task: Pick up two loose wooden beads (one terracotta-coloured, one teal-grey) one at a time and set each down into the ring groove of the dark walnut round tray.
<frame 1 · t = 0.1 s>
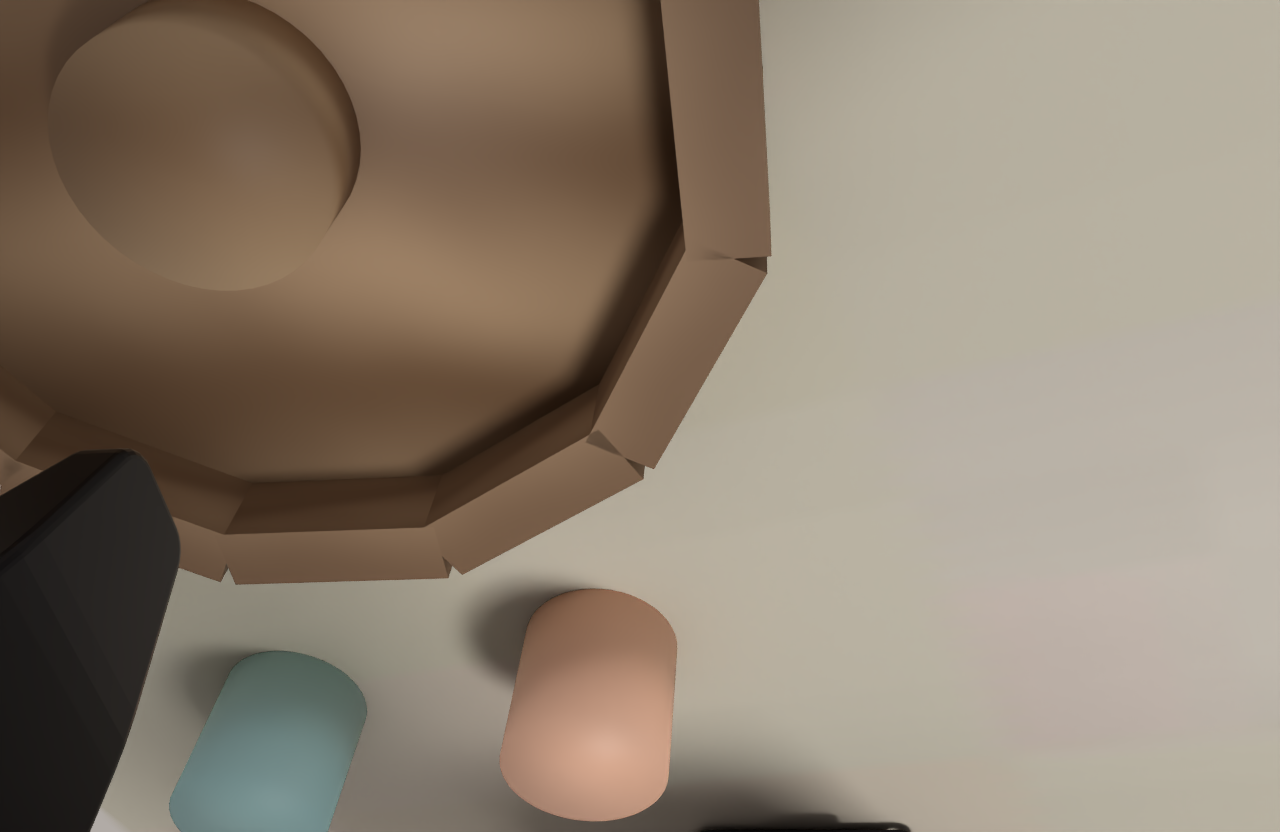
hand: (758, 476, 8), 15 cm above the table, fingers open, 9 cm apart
bead teal: (297, 699, 33), on the table
bead terracotta: (601, 643, 30), on the table
ring tray: (244, 111, 22), on the table
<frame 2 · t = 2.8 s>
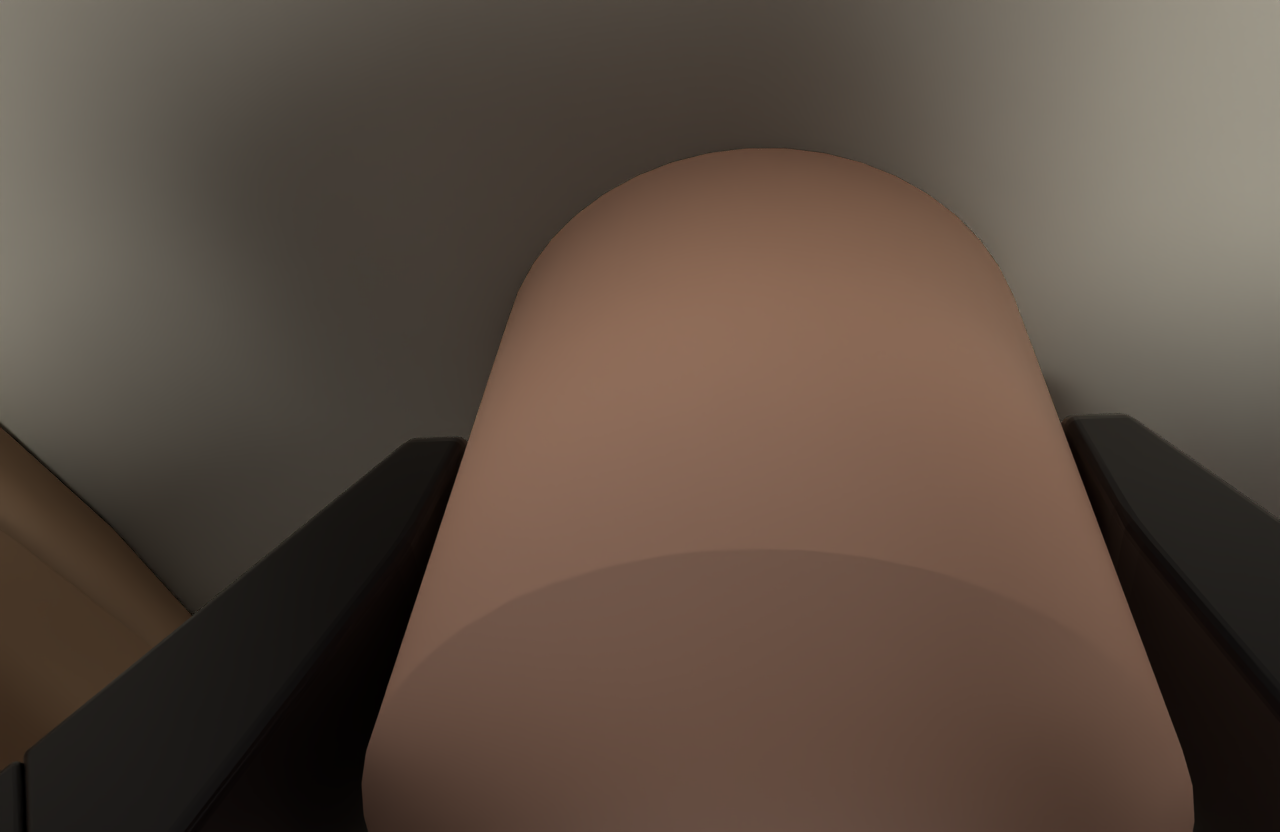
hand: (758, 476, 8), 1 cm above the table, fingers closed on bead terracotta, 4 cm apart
bead terracotta: (758, 392, 9), on the table, touching gripper
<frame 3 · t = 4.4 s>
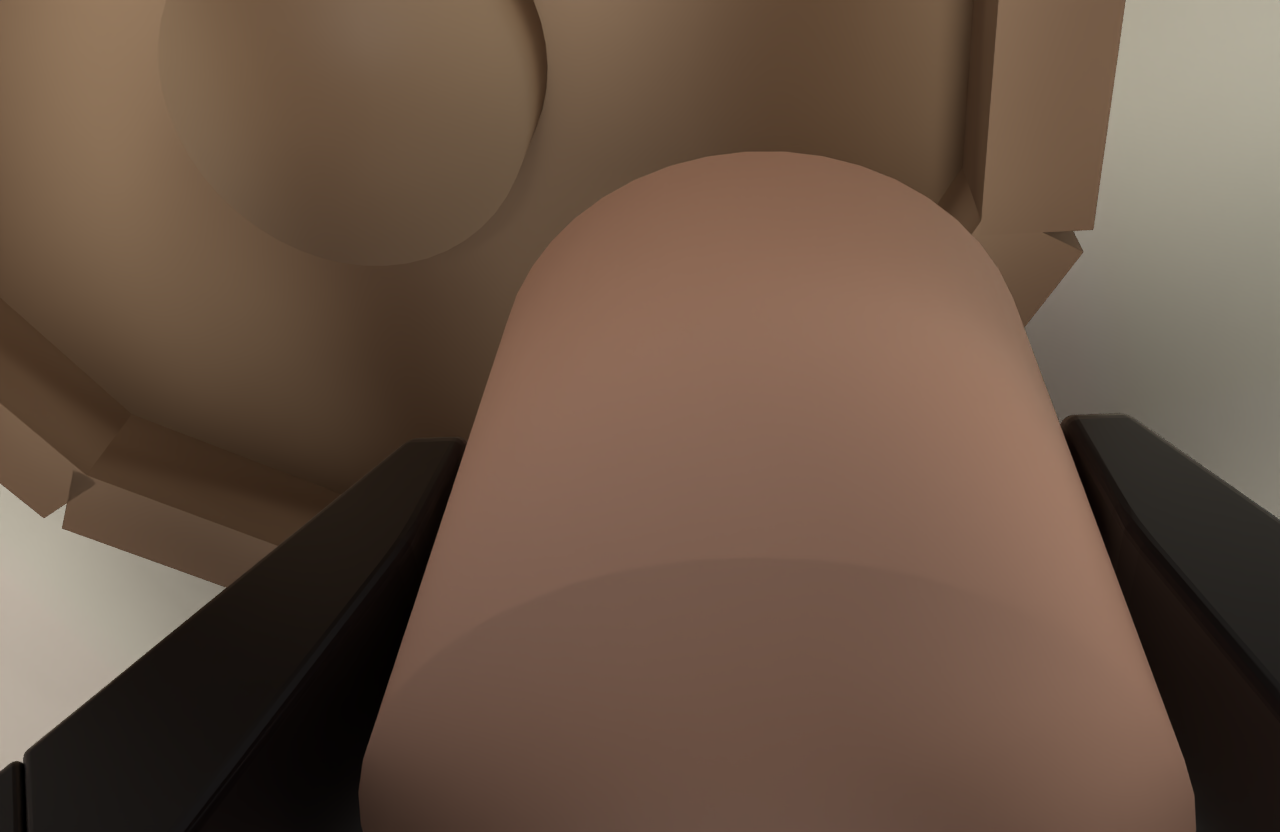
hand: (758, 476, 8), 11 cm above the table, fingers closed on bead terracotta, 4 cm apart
bead terracotta: (757, 396, 9), point 10 cm above the table, touching gripper
ring tray: (392, 39, 18), on the table
when the fingers open (3 cm above the table, at t = 6.0 s): bead terracotta drops 2 cm, resting on ring tray.
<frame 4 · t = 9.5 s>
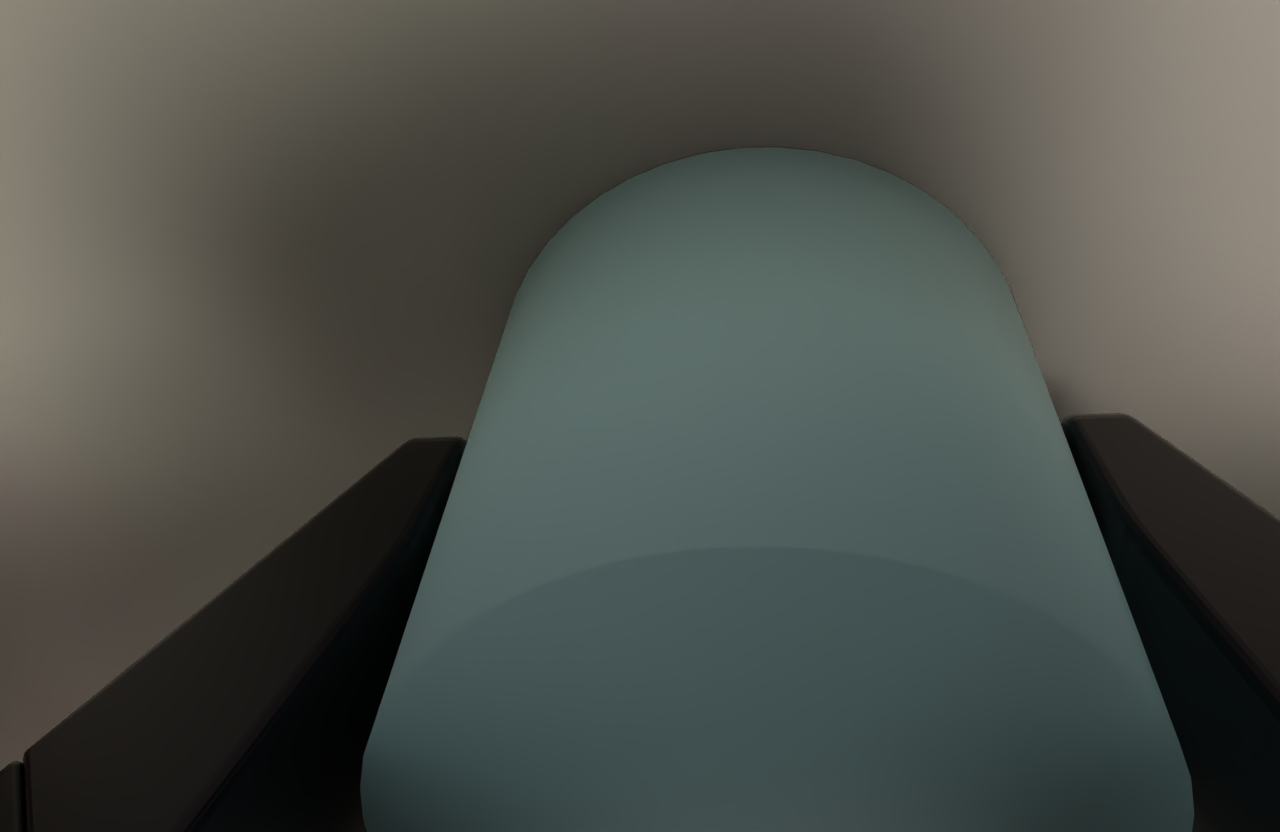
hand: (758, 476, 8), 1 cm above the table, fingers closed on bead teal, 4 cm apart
bead teal: (757, 392, 9), on the table, touching gripper
when the fingers open (3 cm above the table, at t = 13.2 s): bead teal drops 2 cm, resting on ring tray.
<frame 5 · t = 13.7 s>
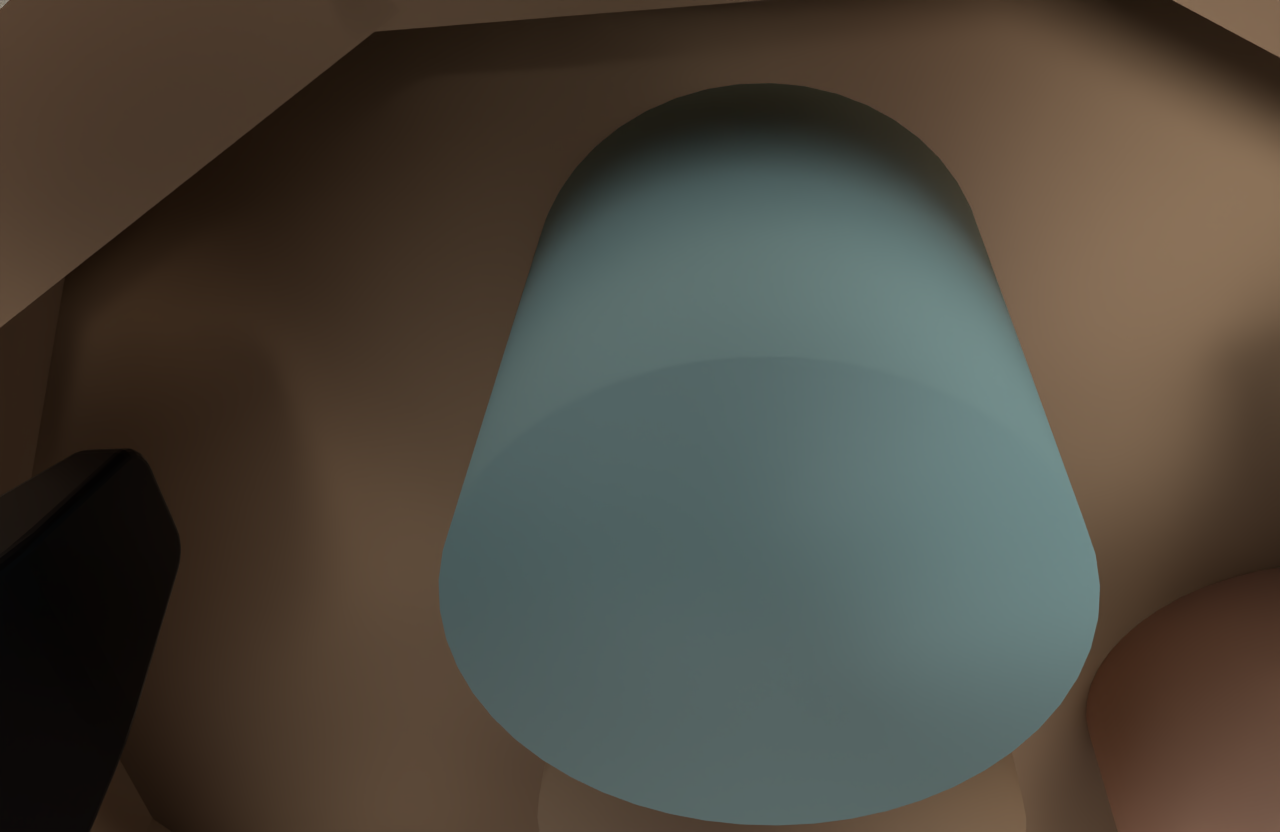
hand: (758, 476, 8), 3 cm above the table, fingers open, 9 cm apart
bead teal: (755, 301, 10), point 1 cm above the table, touching ring tray
bead terracotta: (1275, 697, 13), point 1 cm above the table, touching ring tray
ring tray: (772, 650, 14), on the table
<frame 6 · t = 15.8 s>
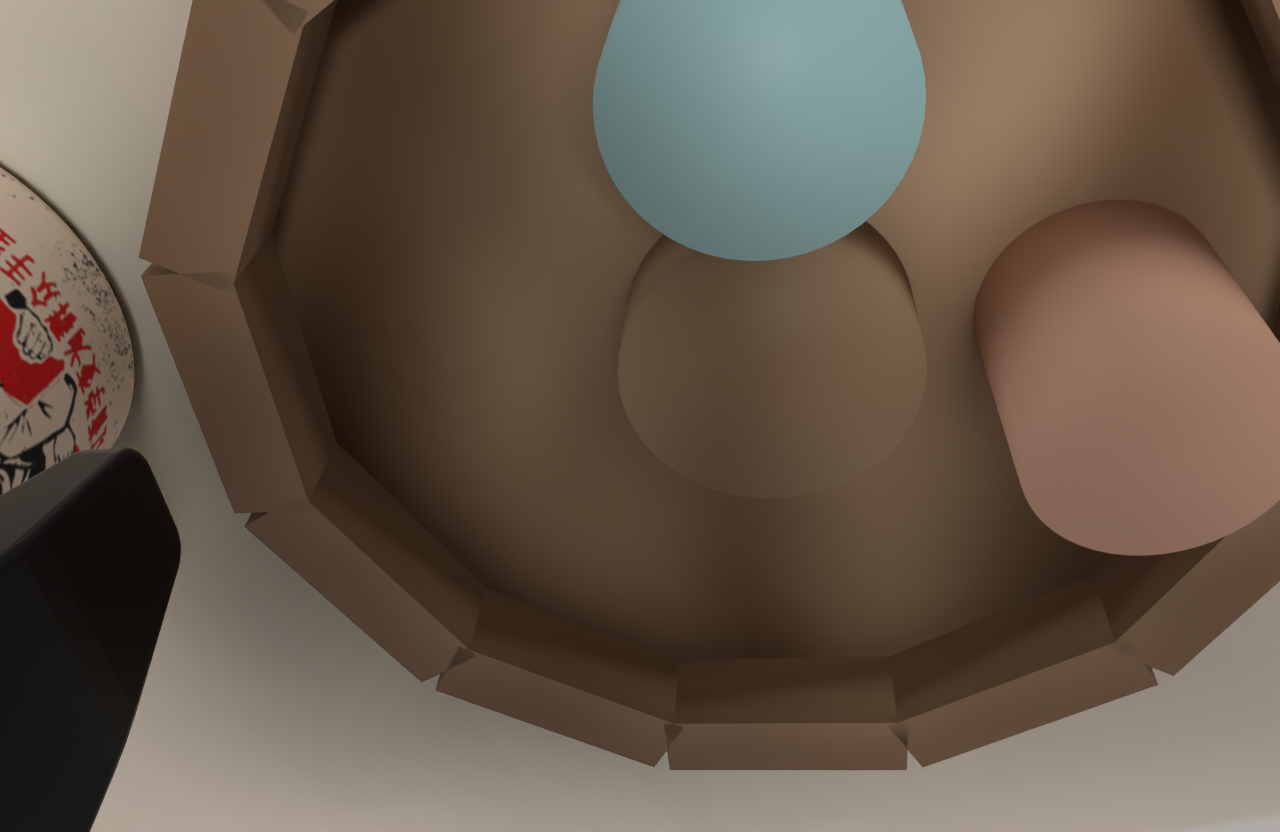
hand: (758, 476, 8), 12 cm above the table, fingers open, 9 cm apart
bead teal: (756, 14, 17), point 1 cm above the table, touching ring tray
bead terracotta: (1094, 307, 20), point 1 cm above the table, touching ring tray
ring tray: (768, 300, 21), on the table
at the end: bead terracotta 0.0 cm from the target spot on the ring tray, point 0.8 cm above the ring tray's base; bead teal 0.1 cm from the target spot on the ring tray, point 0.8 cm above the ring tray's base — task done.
